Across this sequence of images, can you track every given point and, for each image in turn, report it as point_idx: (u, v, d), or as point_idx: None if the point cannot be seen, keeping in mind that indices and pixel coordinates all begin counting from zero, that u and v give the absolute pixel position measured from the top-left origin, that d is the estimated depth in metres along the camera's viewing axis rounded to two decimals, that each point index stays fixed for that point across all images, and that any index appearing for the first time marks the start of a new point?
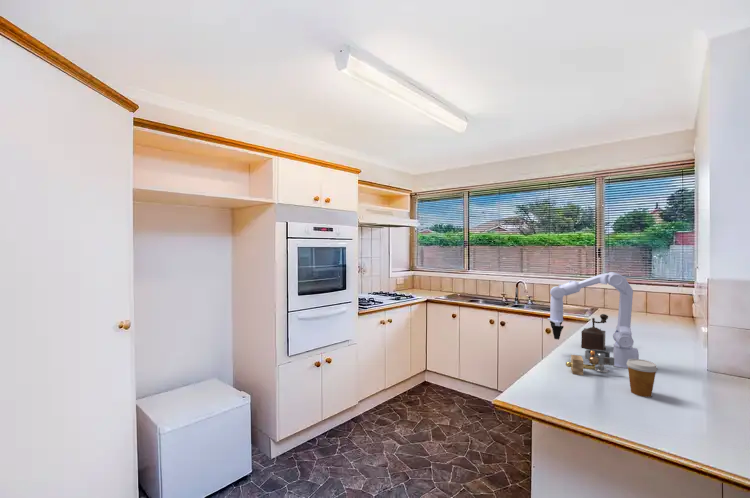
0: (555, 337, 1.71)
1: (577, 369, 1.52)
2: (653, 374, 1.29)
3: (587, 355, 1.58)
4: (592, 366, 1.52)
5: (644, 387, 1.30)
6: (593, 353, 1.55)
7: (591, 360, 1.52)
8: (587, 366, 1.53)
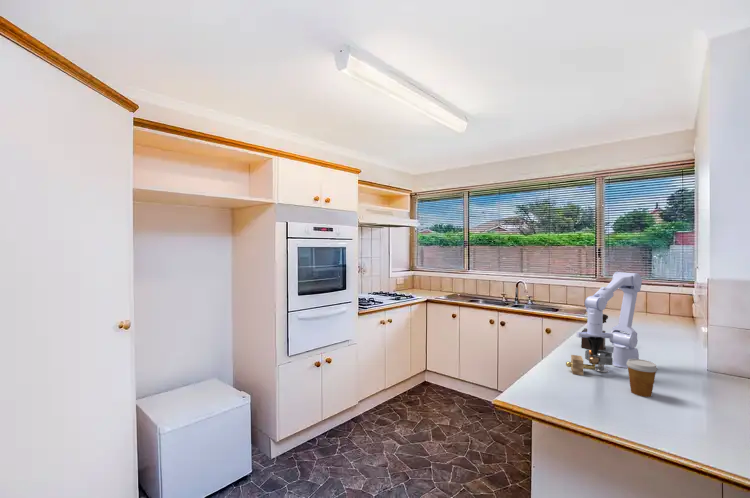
0: (592, 351, 1.55)
1: (577, 369, 1.52)
2: (653, 374, 1.29)
3: (586, 354, 1.59)
4: (592, 366, 1.52)
5: (644, 387, 1.30)
6: (591, 352, 1.56)
7: (591, 360, 1.52)
8: (587, 366, 1.53)
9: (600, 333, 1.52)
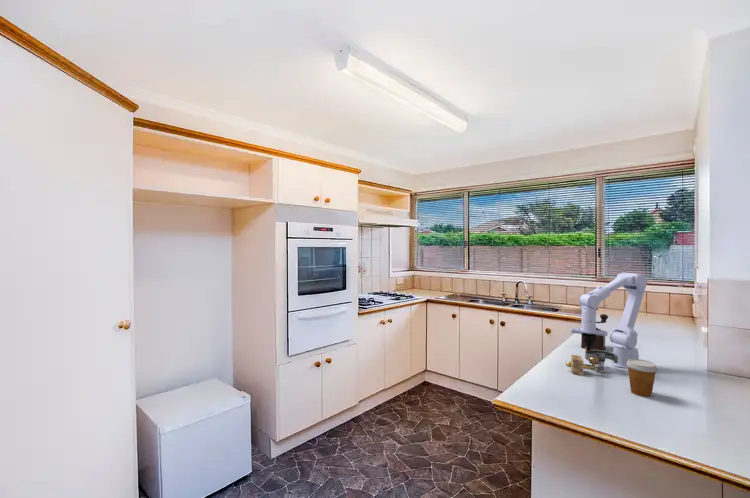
0: (586, 347, 1.60)
1: (577, 369, 1.52)
2: (653, 374, 1.29)
3: None
4: (592, 366, 1.52)
5: (644, 387, 1.30)
6: None
7: (591, 360, 1.52)
8: (587, 366, 1.53)
9: (592, 330, 1.57)
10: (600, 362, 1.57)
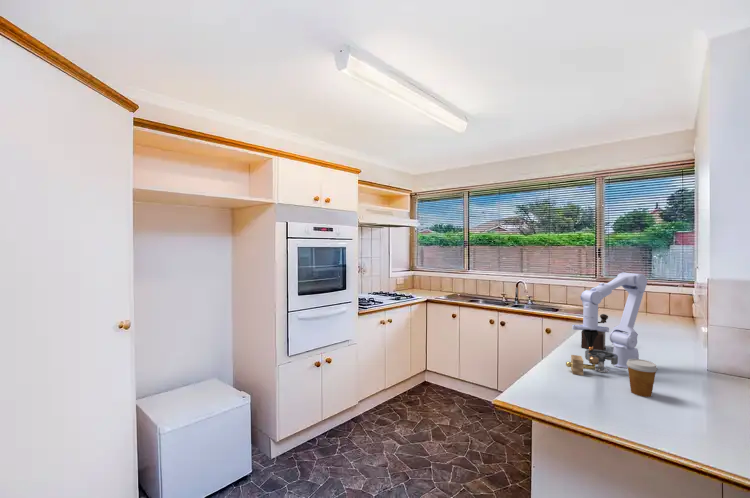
0: (587, 343, 1.59)
1: (577, 369, 1.52)
2: (653, 374, 1.29)
3: None
4: (592, 366, 1.52)
5: (644, 387, 1.30)
6: (589, 347, 1.63)
7: (591, 360, 1.52)
8: (587, 366, 1.53)
9: (594, 326, 1.56)
10: (600, 362, 1.57)
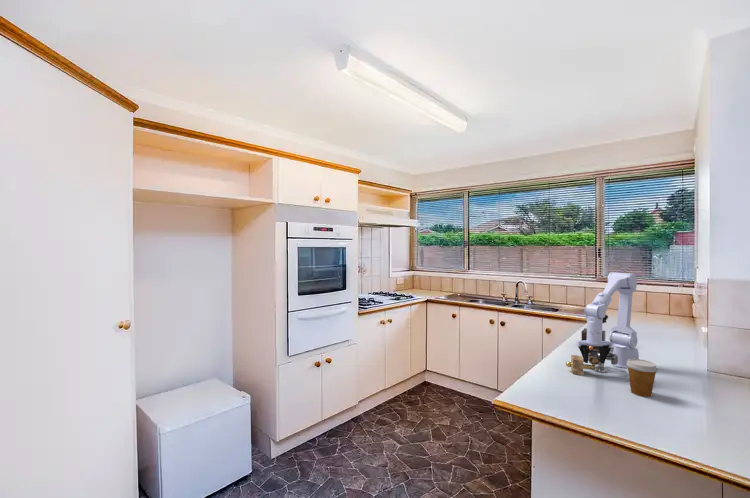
0: (583, 359, 1.53)
1: (577, 369, 1.52)
2: (653, 374, 1.29)
3: None
4: (592, 366, 1.52)
5: (644, 387, 1.30)
6: (589, 347, 1.63)
7: (591, 360, 1.52)
8: (587, 366, 1.53)
9: (600, 342, 1.49)
10: (600, 362, 1.57)
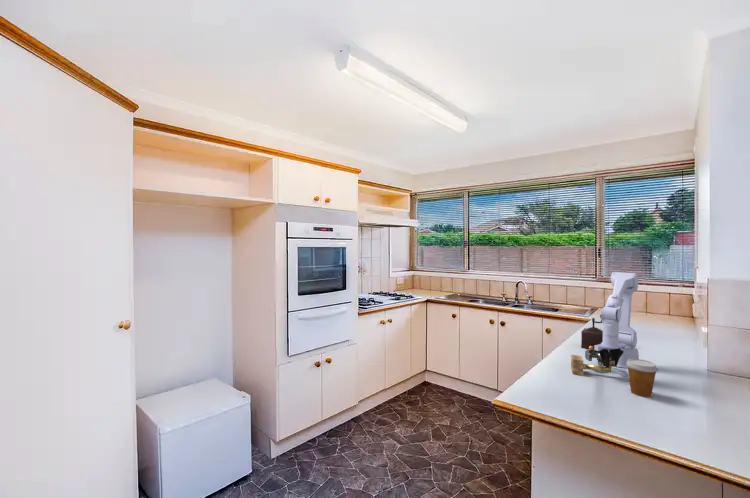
0: (603, 364, 1.50)
1: (577, 369, 1.52)
2: (653, 374, 1.29)
3: None
4: (608, 368, 1.49)
5: (644, 387, 1.30)
6: (589, 347, 1.63)
7: None
8: (603, 368, 1.50)
9: (617, 345, 1.47)
10: (600, 362, 1.57)
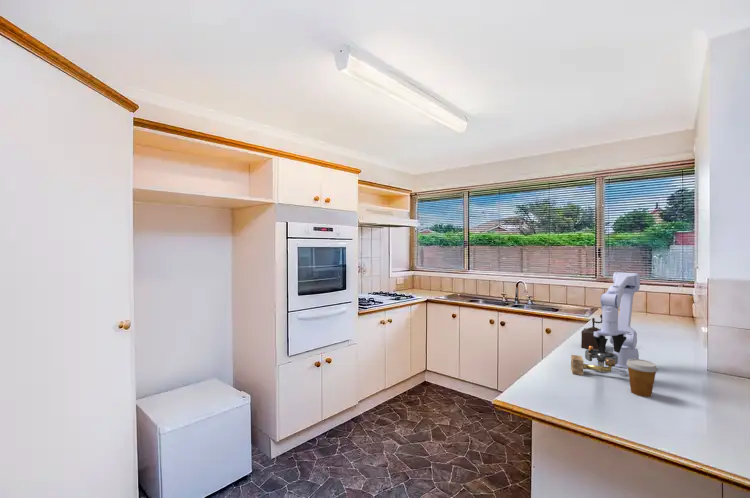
0: (599, 350, 1.50)
1: (577, 369, 1.52)
2: (653, 374, 1.29)
3: None
4: (608, 368, 1.49)
5: (644, 387, 1.30)
6: (589, 348, 1.63)
7: (607, 362, 1.49)
8: (603, 368, 1.50)
9: (617, 331, 1.48)
10: (600, 362, 1.57)
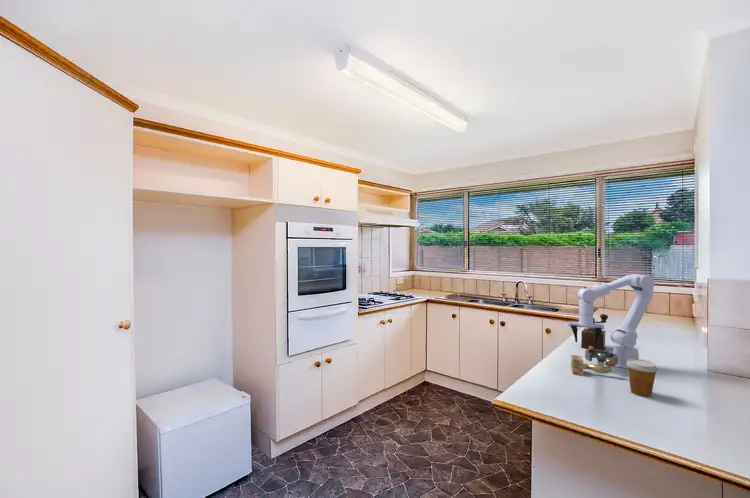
0: (575, 339, 1.67)
1: (577, 369, 1.52)
2: (653, 374, 1.29)
3: None
4: (608, 368, 1.49)
5: (644, 387, 1.30)
6: (589, 348, 1.63)
7: (607, 362, 1.49)
8: (603, 368, 1.50)
9: (589, 323, 1.62)
10: (600, 362, 1.57)
